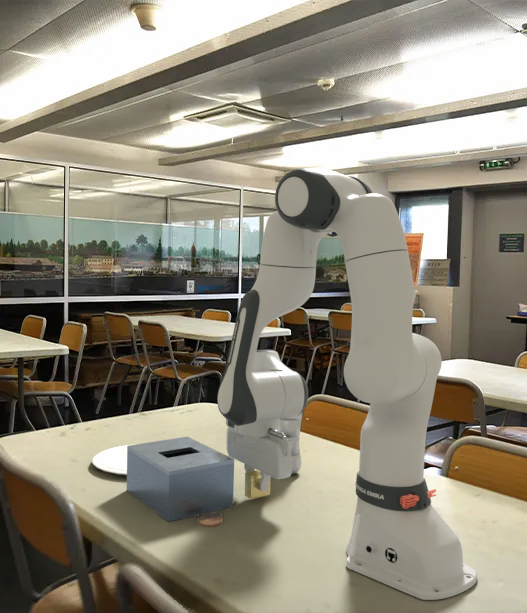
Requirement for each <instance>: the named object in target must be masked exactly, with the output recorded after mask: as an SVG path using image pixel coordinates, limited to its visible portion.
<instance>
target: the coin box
mask: <svg viewBox="0 0 527 613" xmlns="http://www.w3.org/2000/svg"><path fill="white" fill-rule="evenodd" d="M135 444H136V445H132V444H128V445H129V446H127V476H126V491H127V492H128V493H130V494H131V495H132V496H134V497H135V498H136V499H137V500H139V501H140V502H142V503H143V504H144V505H145V506H147V507H148V508H149V509H151V510H152V511H153V512H154V513H156V514H157V515H158V516H160V517H161V518H162V519H164V520H165V521H166V522H167V523H170V522H173V521H179V520H181V519H187V518H190V517H194V516H195V517H196V516H198V515H199V514H201V513H204V512H217V511H220V510H224V509H229V508H232V507H234V489H235V488H234V483H235V482H234V481H235V480H234V479H235V459H234V458H231V457H229V455H227V454H224V453H222V452H220V451H218V450H216V449H214V448H212V447H209V446H208V445H206V444H204V443H201V442H200V441H198V440H196V439H193V438H192V437H189V436H182V437H175V438H170V439H169V438H168V439H162V440H157V441H156V440H155V441H149V442H144V443H143V442H142V443H138V444H137V443H135Z"/></svg>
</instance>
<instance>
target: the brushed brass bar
mask: <svg viewBox="0 0 527 613" xmlns="http://www.w3.org/2000/svg"><path fill="white" fill-rule="evenodd" d="M261 477H262V476H260V471H259V470H257V469H256V470H255V471H252V472H247V473H246V472H244V496H245V497H247V498H248V499H250V500H253V499H257V498H262V497H266V496H270V495H271V479H270V480H269V482H268V490H267V491H263V492H262V491H260V490H258V488H257V487H258V485H257V483H258V482H259V481H260V480H261Z"/></svg>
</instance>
